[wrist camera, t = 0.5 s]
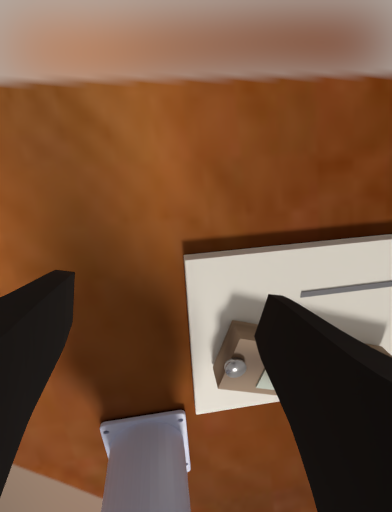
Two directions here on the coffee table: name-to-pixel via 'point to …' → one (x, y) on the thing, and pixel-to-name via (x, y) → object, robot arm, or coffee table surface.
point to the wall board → (291, 286)
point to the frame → (245, 361)
